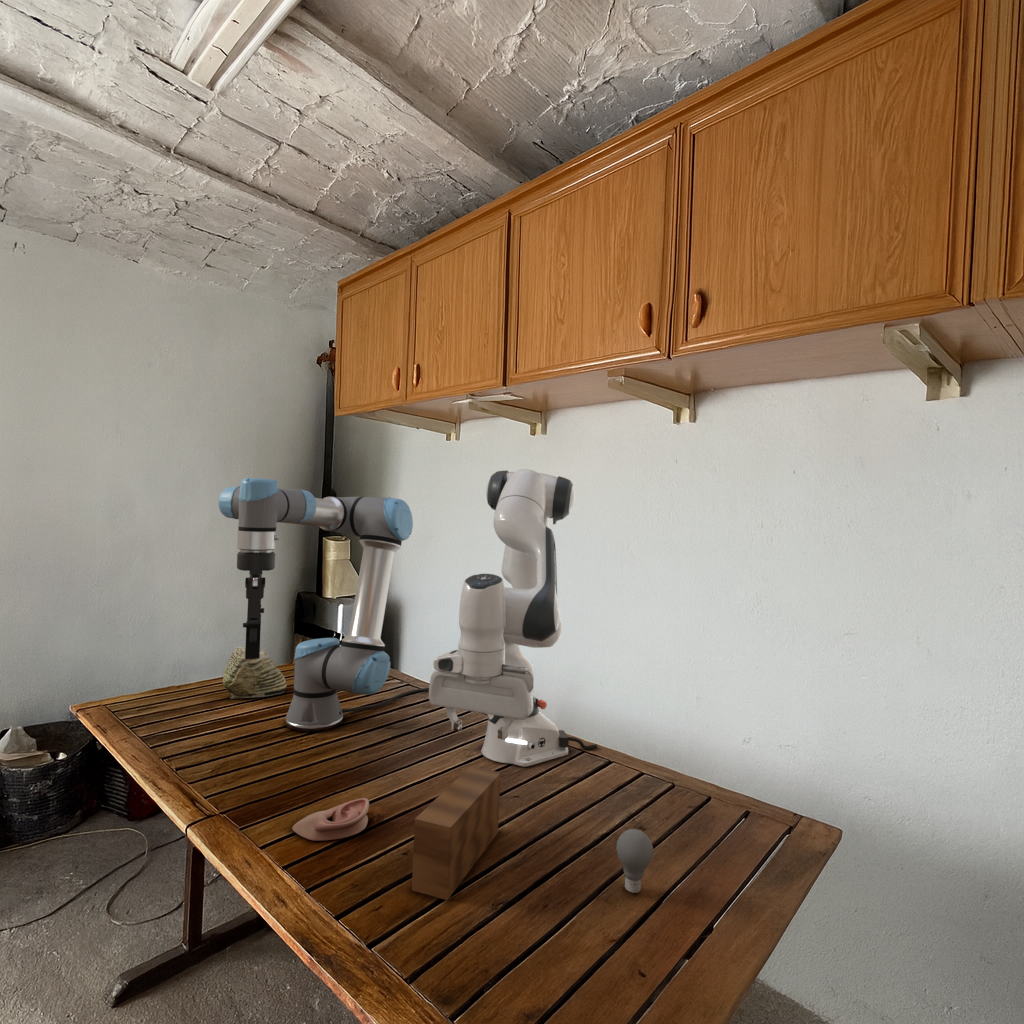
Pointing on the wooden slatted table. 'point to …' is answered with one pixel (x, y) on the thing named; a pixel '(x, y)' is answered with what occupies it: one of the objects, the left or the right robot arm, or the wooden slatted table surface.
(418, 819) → the box
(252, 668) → the fossil
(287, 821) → the wooden slatted table surface
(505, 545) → the right robot arm
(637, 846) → the light bulb
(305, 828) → the anatomical model
